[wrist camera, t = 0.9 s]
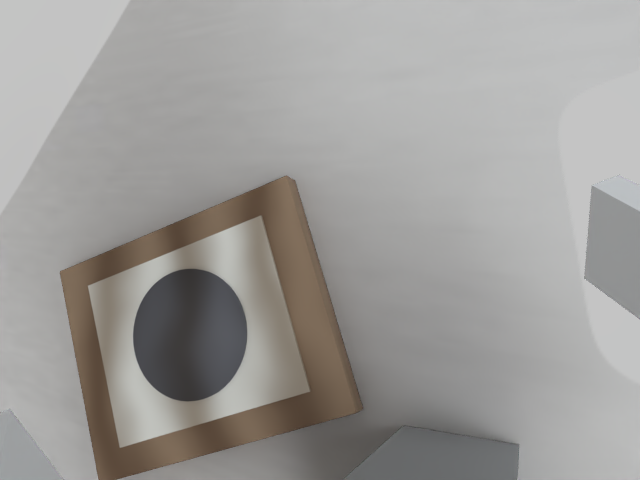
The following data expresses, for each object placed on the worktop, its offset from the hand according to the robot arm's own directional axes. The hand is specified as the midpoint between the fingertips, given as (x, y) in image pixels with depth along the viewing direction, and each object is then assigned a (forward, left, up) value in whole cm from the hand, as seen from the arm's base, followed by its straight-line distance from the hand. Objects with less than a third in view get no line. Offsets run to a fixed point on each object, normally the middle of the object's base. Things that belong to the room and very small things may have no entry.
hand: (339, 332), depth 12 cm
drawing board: (+18, -5, -24) cm, 30 cm away
